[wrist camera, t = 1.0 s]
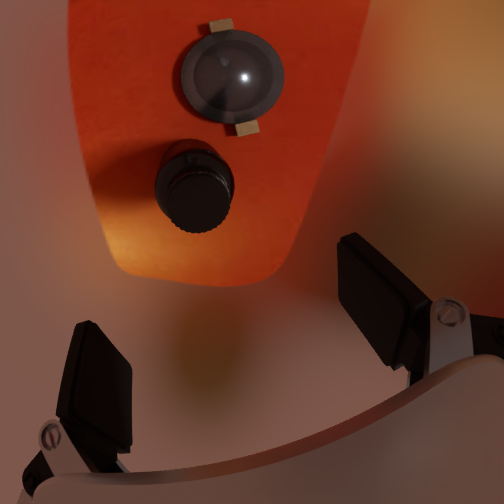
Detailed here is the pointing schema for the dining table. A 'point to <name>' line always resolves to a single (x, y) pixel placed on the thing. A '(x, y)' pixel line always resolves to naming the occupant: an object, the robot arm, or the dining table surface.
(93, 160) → the dining table surface
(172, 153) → the supplement bottle
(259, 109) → the base
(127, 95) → the dining table surface
